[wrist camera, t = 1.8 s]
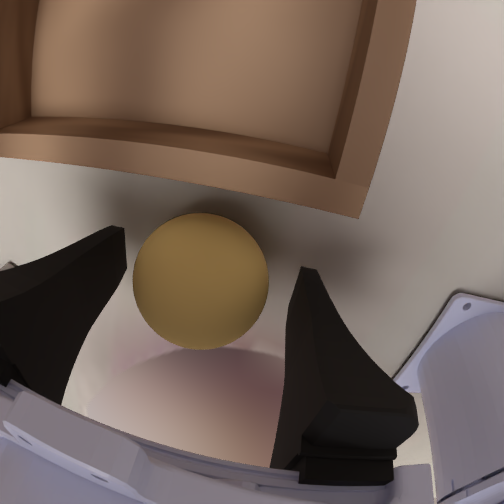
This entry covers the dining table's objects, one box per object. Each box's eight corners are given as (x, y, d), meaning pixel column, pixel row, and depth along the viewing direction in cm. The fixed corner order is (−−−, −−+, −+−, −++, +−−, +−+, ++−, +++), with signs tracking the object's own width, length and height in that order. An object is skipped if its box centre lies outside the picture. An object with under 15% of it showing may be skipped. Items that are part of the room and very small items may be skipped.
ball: (285, 205, 12) (276, 288, 8) (262, 300, 15) (246, 389, 11) (163, 181, 12) (99, 247, 8) (161, 277, 15) (119, 354, 11)
